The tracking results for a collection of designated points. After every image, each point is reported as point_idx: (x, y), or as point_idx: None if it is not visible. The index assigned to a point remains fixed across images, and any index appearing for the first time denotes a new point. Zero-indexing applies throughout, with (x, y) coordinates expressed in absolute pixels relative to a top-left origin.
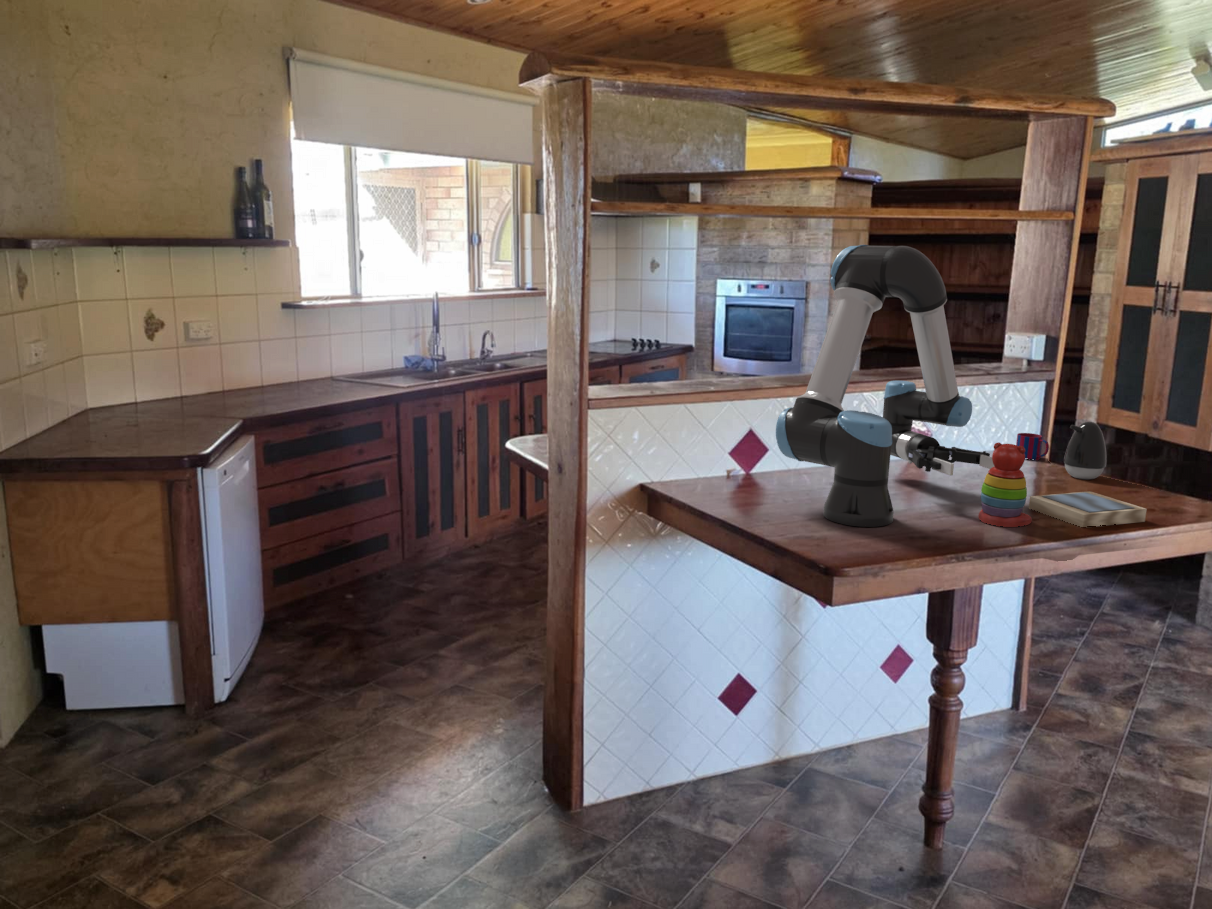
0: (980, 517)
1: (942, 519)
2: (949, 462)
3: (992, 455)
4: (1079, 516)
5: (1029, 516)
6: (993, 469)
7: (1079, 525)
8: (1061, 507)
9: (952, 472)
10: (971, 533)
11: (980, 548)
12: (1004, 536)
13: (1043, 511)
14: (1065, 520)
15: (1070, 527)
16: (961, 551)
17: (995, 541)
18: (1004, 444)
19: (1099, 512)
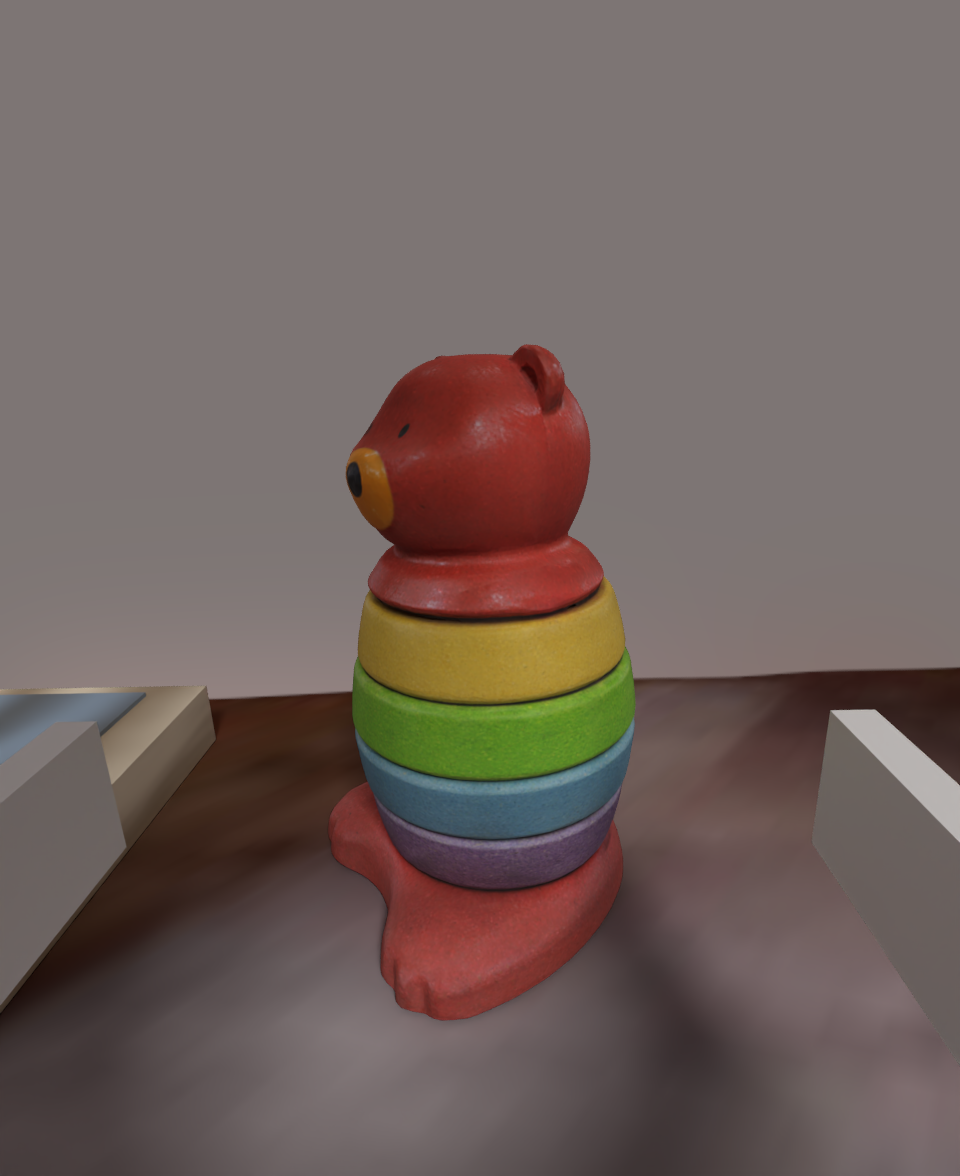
0: (618, 876)
1: (898, 982)
2: (882, 755)
3: (577, 454)
4: (198, 709)
5: (363, 783)
6: (578, 550)
7: (208, 741)
8: (139, 758)
9: (825, 810)
10: (781, 770)
11: (812, 677)
12: (640, 729)
13: None
14: (170, 790)
15: (250, 751)
16: (898, 672)
17: (715, 705)
18: (506, 356)
19: (102, 692)
